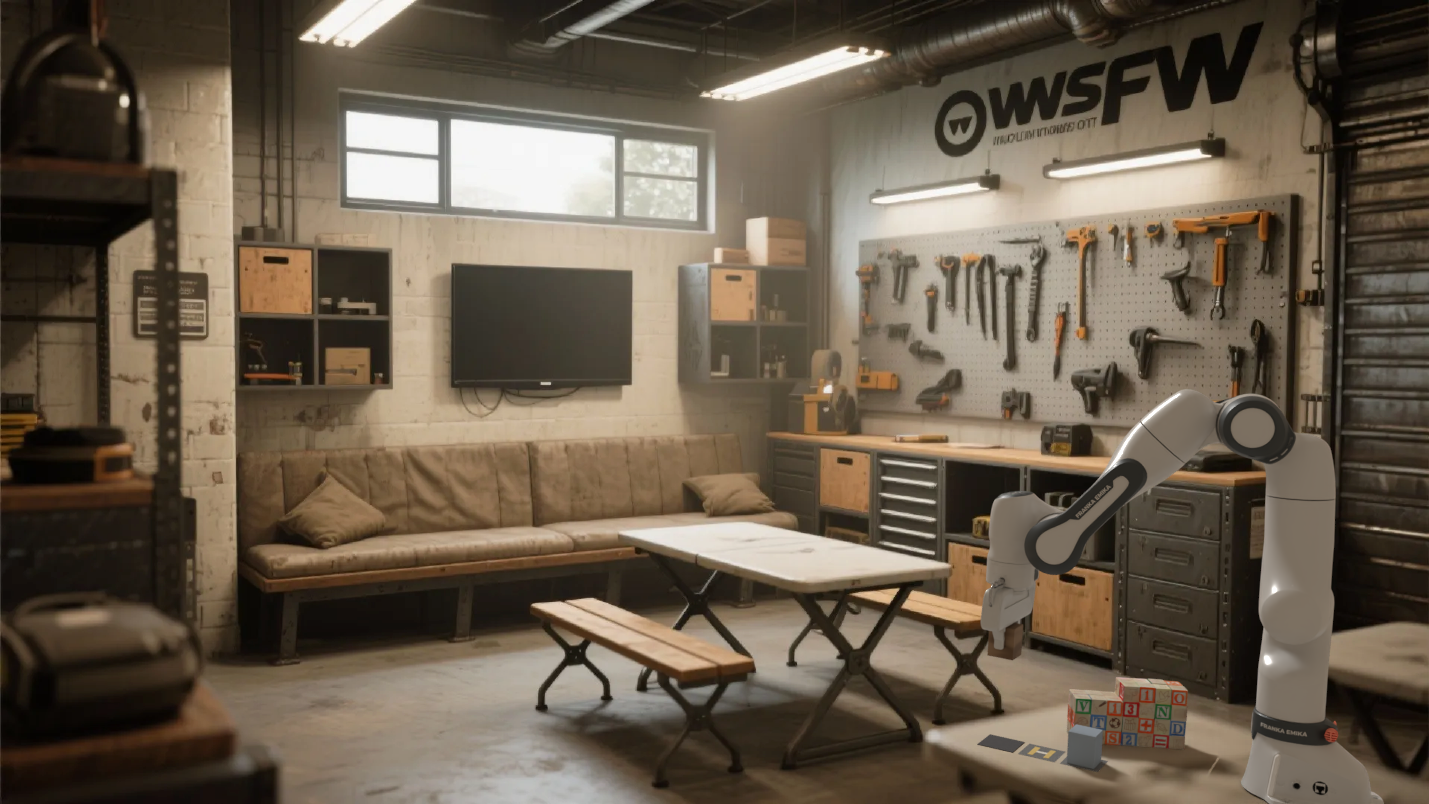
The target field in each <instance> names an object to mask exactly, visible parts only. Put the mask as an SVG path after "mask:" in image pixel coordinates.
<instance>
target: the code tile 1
mask: <svg viewBox="0 0 1429 804" xmlns="http://www.w3.org/2000/svg"><path fill="white" fill-rule="evenodd" d="M1065 753H1066V751H1065V750H1059V749H1055V748H1051V747H1046V746H1042V745H1037V744H1033V743H1029V744H1027V745H1026V746H1025V747H1024V748H1023V749H1022V750H1020V751H1019V752H1018V753H1017V754H1018V755H1021V756H1025V757H1029V758H1034V759H1038V760H1041V761H1047V762H1052V763H1056V762H1057V760H1059V759H1060V758H1061V756H1063V755H1064V754H1065Z"/></svg>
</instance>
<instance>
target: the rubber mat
mask: <svg viewBox="0 0 1429 804" xmlns="http://www.w3.org/2000/svg"><path fill="white" fill-rule="evenodd" d="M1024 743H1025V741H1022V740H1018V739H1014V738H1009V737H1004V736H999V735H994V734H988V735H987V736H986V737H984V738H983V739H982V740H980V741H979V742H978V743H976V744H977V746H982V747H987V748H991V749H995V750H999V751H1002V752H1003V751H1004V752H1008V753H1012V754H1013V753H1014V752H1015V751H1017V750H1018V749H1019V748H1020V747H1021V746H1023V744H1024Z"/></svg>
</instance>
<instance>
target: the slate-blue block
mask: <svg viewBox="0 0 1429 804" xmlns="http://www.w3.org/2000/svg"><path fill="white" fill-rule="evenodd" d="M1102 738H1103V730H1101V729H1096V728H1091V727H1087V726H1082V725H1077V724H1076V725H1075V726H1074V727H1073V728H1072V729H1070V730H1069V731H1068V733H1067V749H1066V750H1067V751H1066V753H1067V754H1066V757H1067V763H1069V764H1074V765H1078V766H1082V767H1087V768H1091V769H1094V768H1095V767H1096V766H1097V765H1098V764H1099V763H1100V762H1101V760H1102V755H1103V754H1102V751H1103V744H1102Z"/></svg>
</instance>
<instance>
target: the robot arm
mask: <svg viewBox="0 0 1429 804" xmlns="http://www.w3.org/2000/svg"><path fill="white" fill-rule="evenodd" d="M1214 444H1220V445H1223V446H1225V447H1226V448H1227V449H1228V450H1230V451H1231V452H1233V453H1234V454H1236V455H1239V456H1240V457H1243V458H1247V459H1250V460H1254V461H1257V462H1259V463H1262V464H1263V467H1264V470H1265V471H1264V472H1265V501H1264V502H1265V504H1264V534H1263V535H1264V536H1263V537H1264V540H1263V547H1262V557H1261V569H1260V570H1261V571H1260V581H1259V595H1258V597H1259V598H1258V615H1259V620H1260V622H1261V624H1262V626H1263V630H1262V636H1261V637H1262V638H1261V639H1262V640H1261V645H1260V654H1259V659H1258V660H1259V661H1258V668H1257V685H1256V699H1255V700H1256V701H1255V702H1256V703H1255V706H1254V708H1253V709H1252V713H1251V723H1250V734H1251V739H1252V741H1251V747H1250V752H1249V757H1248V760H1247V765H1246V768H1245V770H1244V774H1243V776H1242V778H1241V780H1240V783H1241V787H1243V788H1244V789H1245V790H1246V791H1248V792H1249V793H1251V794H1252V795H1255V796H1257V797H1258V798H1260V799H1262V800H1264V801H1266V803H1268V804H1385V802H1384V800H1383V798H1382V797H1381V796H1380V795H1379V794H1377V793H1376V792H1374V791H1372V789H1371V782H1370V777H1369V773H1368V771H1367V769H1366V767H1365V766H1364V764H1363V763H1361V762H1360V761H1359V760H1358V759H1357V758H1356V757H1355V756H1354V755H1352V754H1351V753H1350V752H1349V751H1348V750H1346V748H1344V747H1343V746H1342V745H1341V744H1340V743H1339V742H1338V741H1337V740H1338V737H1339V732H1338V726H1337V725H1338V724H1337V722H1336V720H1334V721H1331V720H1330V719H1329V718H1327V716H1326V706H1327V693H1328V692H1327V691H1328V677H1329V668H1330V667H1329V665H1330V656H1331V655H1330V653H1331V645H1332V644H1331V643H1332V636H1333V635H1332V633H1333V623H1334V622H1333V621H1334V613H1335V612H1334V610H1335V596H1334V592H1333V590H1332V579H1333V578H1332V576H1333V562H1334V550H1335V549H1334V548H1335V529H1336V528H1335V527H1336V525H1335V524H1336V521H1335V519H1336V498H1337V497H1336V495H1337V494H1336V490H1337V489H1336V473H1335V464H1334V459H1333V454H1332V450H1331V449H1332V448H1331V447H1330V445H1329V443H1327V441H1326V440H1325V439H1323V438H1321V437H1319V436H1317V435H1313V434H1311V433H1306V432H1305V433H1304V432H1301V433H1300V432H1296V431H1294V430H1293V428H1292V427H1291V425H1290V423H1289V421H1288V420H1287V417H1286V416H1285V414H1284V413H1283V412H1282V409H1281V408H1280V407H1279V406H1278V403H1277V404H1276V402H1275V401H1274V400H1272V399H1270V398H1268V397H1267V396H1265V395H1262V394H1258V393H1244V394H1239V395H1236V396H1233V397H1229V398H1226V399H1221V400H1218V401H1214V400H1212V398H1210V397H1209V396H1208V395H1206V394H1204V393H1203V392H1200V391H1198V390H1195V389H1190V388H1185V389H1180V390H1178V391H1177V392H1175V393H1173V394H1172V395H1170V396H1168V397H1167V398H1165V399H1164V400H1162V402H1160V403H1159V404H1157V405H1156V406H1154V407H1153V408H1152V409H1151V410H1150V411H1148V412H1147V413H1146V414H1145V415H1144V416H1143V417H1142V418H1141V419H1140V420H1139V421H1138V422H1137V423H1136V424H1135V425H1134V426H1133V427H1132V428H1131V429H1130V430H1129V431H1128V432H1127V434H1126V435H1125V436H1124V437H1123V438H1122V439H1121V441H1120V442H1119V444H1118V445H1117V447H1116V449H1115V450H1114V452H1113V453H1112V456H1111V457H1110V460H1109V461H1108V463H1107V465H1106V467H1105V468H1104V470H1103V472H1101V475H1100V476H1099V478H1097V480H1096V481H1095V482H1094V483H1093V484H1092V485H1091V486H1090V487H1089V488H1088V489H1087V490H1086V491H1084V492H1083V494H1081V496H1079V497H1078V498H1077V500H1075V501H1074V502H1073V503H1072V504H1071V505H1070V506H1069V507H1067V509H1066V510H1061V509H1058V508H1057V507H1055V506H1053V505H1050V504H1048V503H1047V502H1045V501H1044V500H1042V499H1041V498H1039V497H1038V496H1037V495H1036V494H1035V493H1034V492H1032V491H1028V490H1014V491H1009V492H1004V493H1001V494H999V495H998V496H997V497H996V498H995V499H994V501H993V503H992V505H991V510H990V517H989V526H988V527H989V528H988V538H989V549H988V553H987V556H986V557H987V558H986V569H985V570H986V572H985V582H986V583H987V584H990V586H991V587H989V588H987V589H986V590H985V592H984V594H983V598H982V606H981V611H980V612H981V615H980V627H981V629H982V630H984V631H988V632H989V631H992V633H993V637H994V648H995V649H1000V650H1002V649H1004V648H1005V644H1006V639H1005V638H1004V632H1005V628H1006V627H1008V626H1009V625H1011V624H1013V623H1018V624H1021V619H1024V618H1025V617H1027V616H1029V615H1031V614H1032V610H1033V608H1034V602H1035V596H1036V588H1037V587H1036V586H1037V585H1036V584H1037V583H1036V581H1037V580H1038V579H1039V578H1040V577H1039V576H1040V572H1041V573H1043V574H1046V575H1051V576H1059V575H1064V574H1066V573H1069V572H1071V570H1073V569H1074V568H1075V567H1076V566H1077V564H1078V563H1079V562H1080V560H1081V557H1082V555H1083V552H1084V550H1085V547H1086V546H1087V543H1088V541H1089V540H1090V539H1091V537H1092V536H1093V535H1094V534H1095V533H1096V532H1098V530H1099V529H1101V527H1102V526H1104V525H1105V523H1107V522H1108V521H1109V520H1110V519H1111V518H1112V517H1113V516H1114V515H1115V514H1116V513H1118V511H1119V510H1120V509H1122V507H1124V506H1125V505H1127V504H1128V503H1129V502H1131V501H1132V500H1134V499H1135V498H1137V497H1139V496H1140V495H1142V494H1144V493H1146V492H1147V491H1149V490H1151V489H1152V488H1154V487H1157V485H1159V484H1161V483H1163V482H1164V481H1166V480H1167V479H1168V478H1170V477H1171V476H1172V475H1173V474H1175V473H1176V472H1178V471H1180V469H1182V467H1183V466H1185V465H1186V463H1188V462H1189V461H1190V460H1191V459H1192V458H1193V457H1194V456H1195V455H1196V454H1198V453H1199V451H1201V450H1202V449H1204V448H1206V447H1208V446H1209V445H1214Z"/></svg>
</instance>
